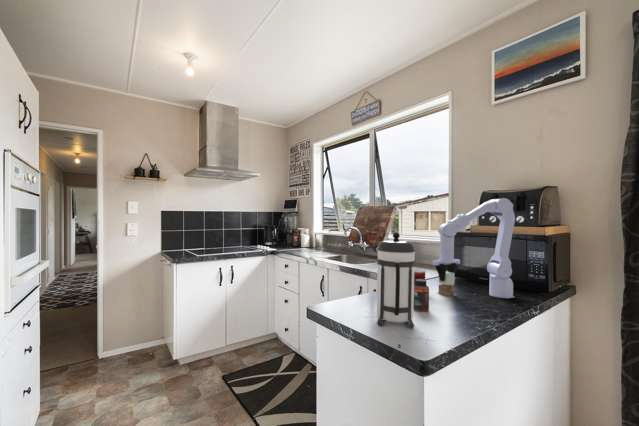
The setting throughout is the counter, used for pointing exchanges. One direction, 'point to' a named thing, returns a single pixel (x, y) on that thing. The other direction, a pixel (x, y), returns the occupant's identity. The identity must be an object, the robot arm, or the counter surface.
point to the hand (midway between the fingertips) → (446, 280)
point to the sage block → (448, 278)
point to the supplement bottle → (421, 295)
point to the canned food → (419, 274)
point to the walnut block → (446, 289)
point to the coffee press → (395, 281)
